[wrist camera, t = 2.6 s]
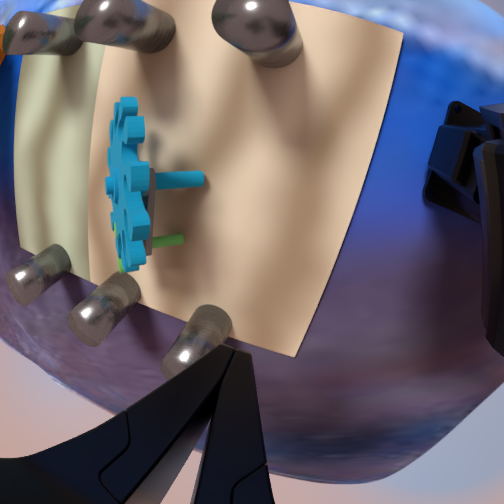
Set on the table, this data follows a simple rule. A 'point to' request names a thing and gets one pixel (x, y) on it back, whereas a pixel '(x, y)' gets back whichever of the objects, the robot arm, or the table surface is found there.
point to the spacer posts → (146, 41)
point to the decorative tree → (0, 53)
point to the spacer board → (211, 162)
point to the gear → (137, 189)
